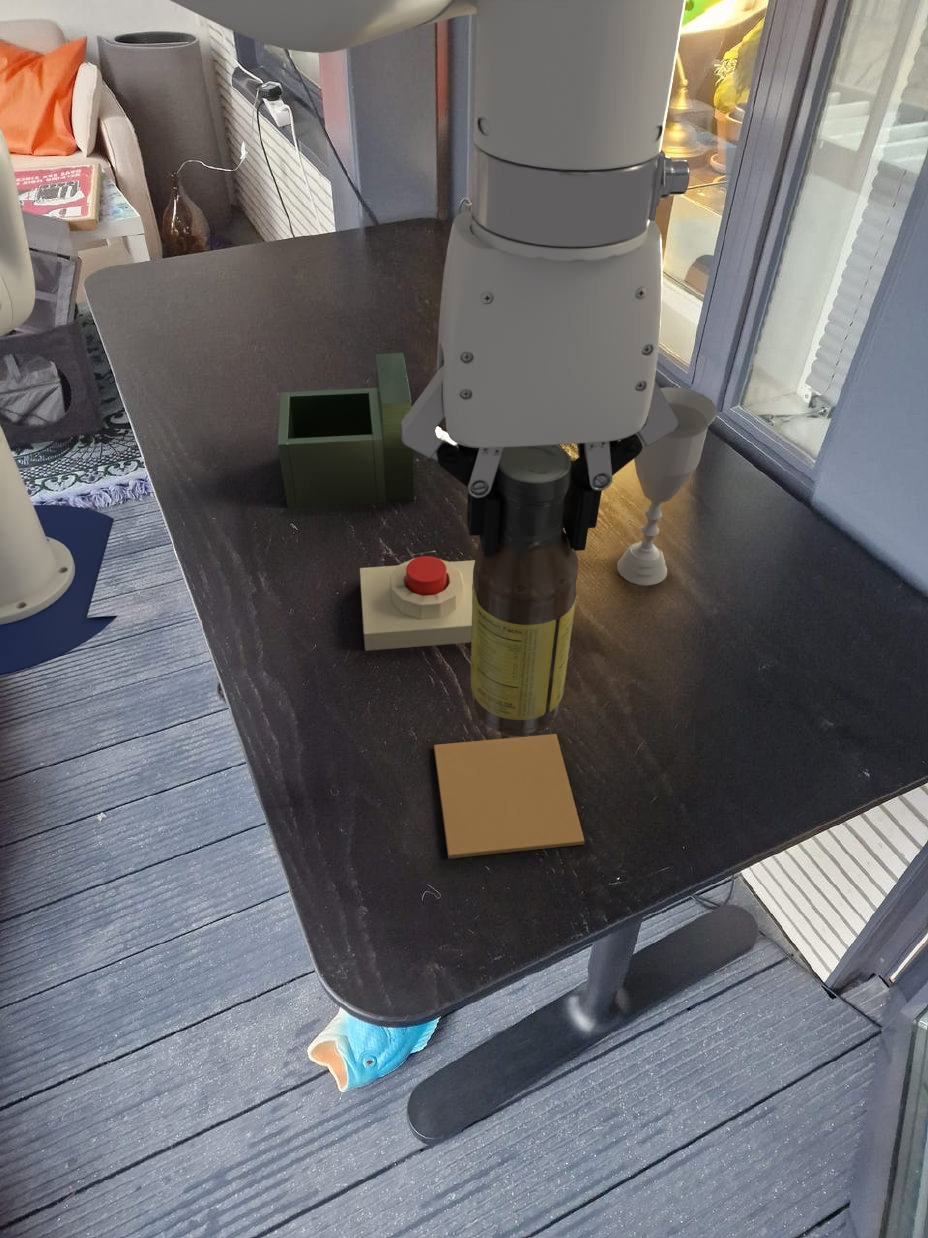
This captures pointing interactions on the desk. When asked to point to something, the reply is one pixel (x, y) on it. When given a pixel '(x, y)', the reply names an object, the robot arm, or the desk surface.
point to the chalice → (666, 478)
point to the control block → (415, 608)
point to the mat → (505, 796)
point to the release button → (426, 575)
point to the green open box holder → (348, 442)
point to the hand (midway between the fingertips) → (529, 535)
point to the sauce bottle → (524, 596)
